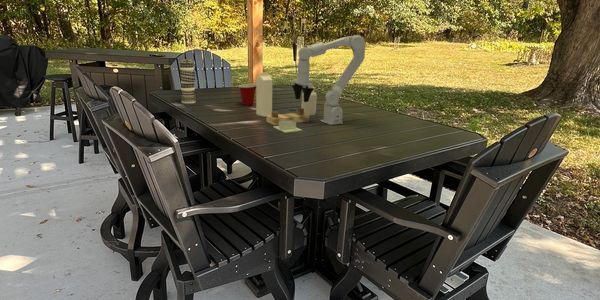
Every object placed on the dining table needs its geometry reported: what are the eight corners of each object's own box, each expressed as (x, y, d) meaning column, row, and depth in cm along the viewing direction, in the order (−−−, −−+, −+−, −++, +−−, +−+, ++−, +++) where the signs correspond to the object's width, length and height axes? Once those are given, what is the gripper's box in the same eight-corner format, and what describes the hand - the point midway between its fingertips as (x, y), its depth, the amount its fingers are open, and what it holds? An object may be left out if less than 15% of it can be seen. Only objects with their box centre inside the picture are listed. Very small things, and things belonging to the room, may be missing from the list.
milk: (272, 115, 205) (273, 73, 198) (262, 116, 201) (263, 73, 194) (264, 113, 209) (265, 72, 203) (255, 114, 205) (256, 72, 199)
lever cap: (291, 126, 182) (291, 120, 181) (296, 128, 178) (296, 122, 177) (278, 127, 178) (278, 121, 177) (282, 129, 175) (283, 123, 174)
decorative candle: (180, 100, 235) (177, 58, 227) (196, 100, 238) (194, 58, 230) (180, 103, 226) (178, 60, 219) (196, 103, 229) (194, 60, 222)
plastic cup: (236, 103, 233) (235, 83, 229) (253, 102, 237) (253, 83, 234) (241, 107, 223) (241, 86, 220) (259, 106, 228) (259, 85, 224)
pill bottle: (316, 116, 207) (317, 88, 202) (301, 115, 207) (302, 87, 202) (315, 113, 214) (317, 86, 210) (301, 112, 215) (302, 85, 210)
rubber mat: (302, 130, 176) (302, 129, 176) (285, 132, 172) (285, 132, 171) (289, 125, 185) (289, 124, 185) (273, 127, 180) (273, 126, 180)
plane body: (300, 118, 201) (300, 106, 199) (309, 121, 195) (309, 109, 193) (266, 121, 191) (266, 109, 189) (274, 125, 184) (274, 112, 183)
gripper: (288, 71, 191) (287, 98, 195) (304, 74, 180) (303, 103, 184) (300, 70, 195) (299, 97, 199) (317, 74, 184) (315, 102, 188)
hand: (301, 100), depth 192 cm, fingers open, 7 cm apart
